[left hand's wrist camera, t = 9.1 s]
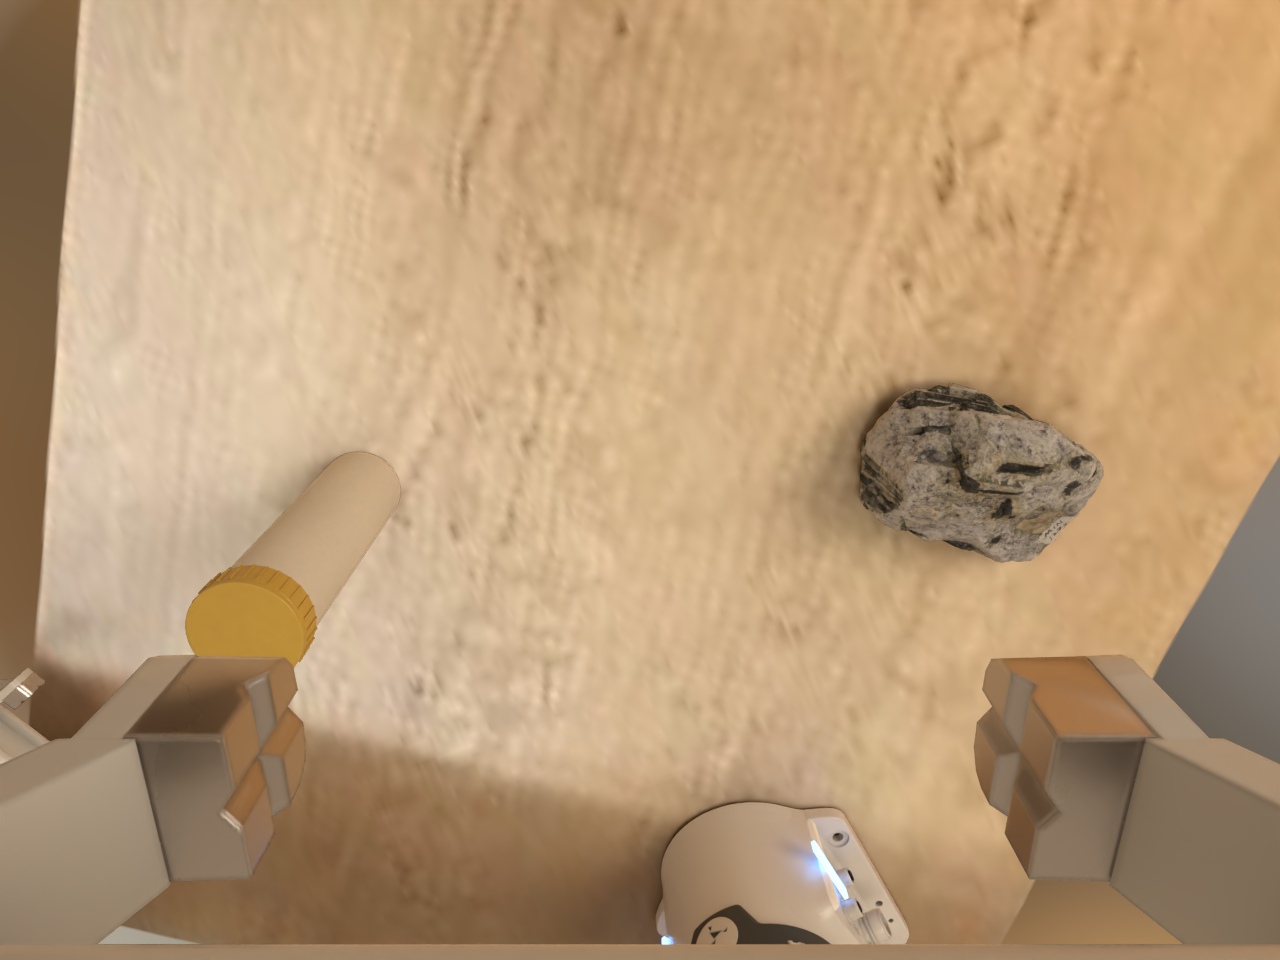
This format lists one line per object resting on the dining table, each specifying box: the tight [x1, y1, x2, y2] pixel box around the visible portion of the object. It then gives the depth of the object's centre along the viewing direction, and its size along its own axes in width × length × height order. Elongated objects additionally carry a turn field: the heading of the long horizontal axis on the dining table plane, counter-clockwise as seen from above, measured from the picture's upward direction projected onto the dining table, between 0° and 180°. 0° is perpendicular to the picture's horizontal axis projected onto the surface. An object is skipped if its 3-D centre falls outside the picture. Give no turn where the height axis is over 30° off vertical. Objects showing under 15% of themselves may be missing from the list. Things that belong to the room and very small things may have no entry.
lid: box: [185, 564, 317, 668], centre depth 44 cm, size 6×6×2 cm
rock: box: [859, 384, 1103, 562], centre depth 57 cm, size 15×10×7 cm
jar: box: [231, 452, 401, 627], centre depth 52 cm, size 5×5×19 cm
